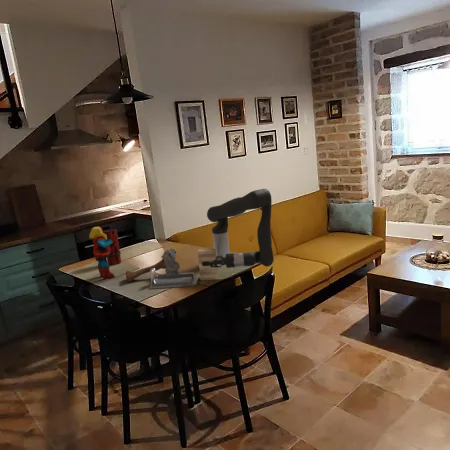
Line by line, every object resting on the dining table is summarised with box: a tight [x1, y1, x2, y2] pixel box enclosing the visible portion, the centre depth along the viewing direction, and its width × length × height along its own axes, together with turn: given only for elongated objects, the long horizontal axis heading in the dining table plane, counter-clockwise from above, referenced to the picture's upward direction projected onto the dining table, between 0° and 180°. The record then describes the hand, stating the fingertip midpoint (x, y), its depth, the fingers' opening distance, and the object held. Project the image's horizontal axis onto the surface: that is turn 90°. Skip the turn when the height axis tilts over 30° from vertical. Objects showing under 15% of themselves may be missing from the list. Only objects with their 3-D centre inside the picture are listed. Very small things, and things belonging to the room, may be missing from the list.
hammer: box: [125, 248, 181, 283], centre depth 225 cm, size 15×10×30 cm
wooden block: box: [197, 247, 219, 281], centre depth 214 cm, size 4×9×16 cm, turn 87°
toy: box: [88, 226, 117, 281], centre depth 230 cm, size 15×15×30 cm
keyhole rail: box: [149, 268, 200, 290], centre depth 213 cm, size 14×24×8 cm, turn 87°
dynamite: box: [102, 218, 122, 266], centre depth 257 cm, size 10×9×30 cm
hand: (202, 262), depth 214 cm, fingers closed on wooden block, 4 cm apart
